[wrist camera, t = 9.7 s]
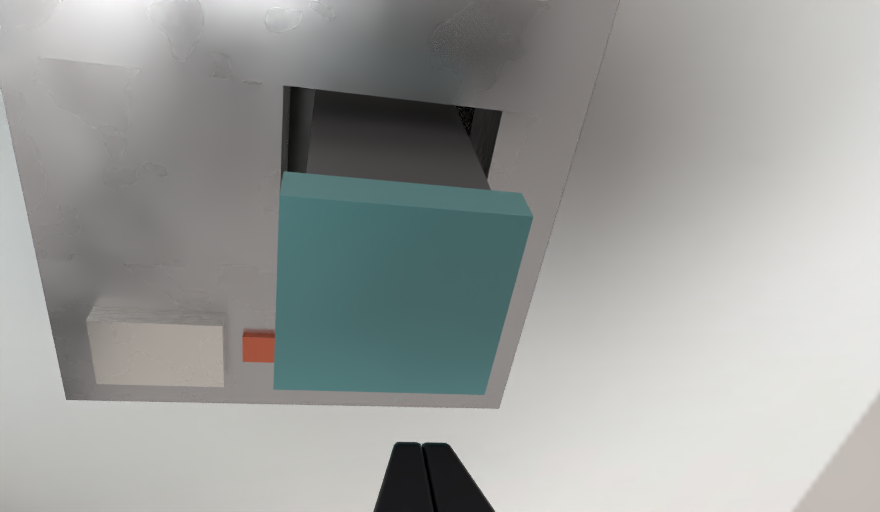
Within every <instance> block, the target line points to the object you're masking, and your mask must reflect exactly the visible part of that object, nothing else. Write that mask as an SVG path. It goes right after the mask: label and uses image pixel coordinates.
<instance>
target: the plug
mask: <svg viewBox="0 0 880 512" xmlns="http://www.w3.org/2000/svg"><path fill="white" fill-rule="evenodd" d="M532 221H533V215H532V213H531V211H530V209H529V207H528V205H527V203H526V201H525V199H524V197H523V195H522V193H516V192H505V191H494V190H491V188H490V186H489V184H488V181H487V179H486V177H485V174H484V172H483V170H482V167H481V165H480V163H479V160H478V158H477V155H476V153H475V151H474V148H473V146H472V144H471V141H470V139H469V137H468V134H467V132H466V130H465V127H464V125H463V122H462V120H461V118H460V115H459V113H458V111H457V108H456V106H455V105H448V104H440V103H431V102H422V101H414V100H405V99H397V98H388V97H379V96H371V95H362V94H354V93H345V92H336V91H328V90H319V89H316V91H315V100H314V109H313V117H312V126H311V135H310V143H309V152H308V161H307V169H306V173H296V172H285V171H284V172H283V178H282V183H281V189H280V194H279V220H278V252H277V285H276V318H275V351H274V384H273V390H309V391H348V392H387V393H427V394H466V395H485V392H486V388H487V384H488V381H489V377H490V373H491V370H492V366H493V362H494V359H495V355H496V352H497V348H498V344H499V341H500V337H501V333H502V330H503V326H504V322H505V319H506V315H507V312H508V308H509V304H510V301H511V297H512V293H513V290H514V286H515V282H516V279H517V275H518V271H519V268H520V264H521V261H522V257H523V253H524V250H525V246H526V242H527V239H528V235H529V231H530V228H531V224H532Z"/></svg>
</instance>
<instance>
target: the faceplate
mask: <svg viewBox="0 0 880 512" xmlns="http://www.w3.org/2000/svg"><path fill="white" fill-rule="evenodd" d="M619 1H620V0H0V85H1V90H2V95H3V100H4V105H5V109H6V114H7V119H8V124H9V128H10V133H11V138H12V143H13V148H14V152H15V157H16V162H17V167H18V171H19V176H20V181H21V186H22V191H23V195H24V200H25V205H26V210H27V214H28V219H29V224H30V229H31V234H32V238H33V243H34V248H35V253H36V257H37V262H38V267H39V272H40V276H41V281H42V286H43V291H44V296H45V300H46V305H47V310H48V315H49V319H50V324H51V329H52V334H53V339H54V343H55V348H56V353H57V358H58V362H59V367H60V372H61V377H62V382H63V386H64V391H65V396H66V400H100V401H149V402H199V403H248V404H297V405H347V406H396V407H446V408H495V409H499V407H500V403H501V400H502V397H503V393H504V390H505V386H506V383H507V380H508V376H509V373H510V370H511V366H512V363H513V359H514V356H515V353H516V349H517V346H518V342H519V339H520V336H521V332H522V329H523V326H524V322H525V319H526V315H527V312H528V309H529V305H530V302H531V299H532V295H533V292H534V288H535V285H536V282H537V278H538V275H539V272H540V268H541V265H542V261H543V258H544V255H545V251H546V248H547V245H548V241H549V238H550V234H551V231H552V228H553V224H554V221H555V217H556V214H557V211H558V207H559V204H560V201H561V197H562V194H563V190H564V187H565V184H566V180H567V177H568V174H569V170H570V167H571V163H572V160H573V157H574V153H575V150H576V147H577V143H578V140H579V136H580V133H581V130H582V126H583V123H584V119H585V116H586V113H587V109H588V106H589V103H590V99H591V96H592V92H593V89H594V86H595V82H596V79H597V76H598V72H599V69H600V65H601V62H602V59H603V55H604V52H605V49H606V45H607V42H608V38H609V35H610V32H611V28H612V25H613V22H614V18H615V15H616V11H617V8H618V5H619ZM291 86H293V87H302V88H311V89H319V90H328V91H336V92H345V93H354V94H362V95H371V96H379V97H388V98H397V99H405V100H414V101H422V102H431V103H440V104H448V105H457V106H465V107H474V108H475V110H474V115H473V120H472V125H471V131H470V136H469V139H470V141H471V144H472V146H473V148H474V151H475V153H476V155H477V158H478V160H479V163H480V165H481V167H482V170H483V172H484V174H485V177H486V179H487V181H488V184H489V186H490V188H491V190H494V191H505V192H516V193H522V195H523V197H524V199H525V201H526V203H527V205H528V207H529V209H530V211H531V213H532V215H533V221H532V224H531V228H530V231H529V235H528V239H527V242H526V246H525V250H524V253H523V257H522V261H521V264H520V268H519V271H518V275H517V279H516V282H515V286H514V290H513V293H512V297H511V301H510V304H509V308H508V312H507V315H506V319H505V322H504V326H503V330H502V333H501V337H500V341H499V344H498V348H497V352H496V355H495V359H494V362H493V366H492V370H491V373H490V377H489V381H488V384H487V388H486V392H485V395H466V394H427V393H387V392H348V391H309V390H273V384H274V351H275V318H276V285H277V252H278V220H279V194H280V189H281V183H282V178H283V172H284V171H285V172H287V168H288V141H289V114H290V88H291Z"/></svg>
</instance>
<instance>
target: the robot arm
mask: <svg viewBox="0 0 880 512" xmlns="http://www.w3.org/2000/svg"><path fill="white" fill-rule="evenodd" d="M374 512H495V511H494V509H493V508H492V506H491V505H490V503H489V502H488V500H487V499H486V497H485V496H484V494H483V493H482V492H481V490H480V489H479V487H478V486H477V484H476V483H475V481H474V480H473V478H472V477H471V475H470V474H469V472H468V471H467V470H466V468H465V467H464V465H463V464H462V462H461V461H460V459H459V458H458V456H457V455H456V453H455V452H454V451H453V449H452V448H451V446H450V445H448V444H447V443H424V444H422V446H421V444H419V443H417V442H397V443H395V445H394V447H393V450H392V453H391V456H390V460H389V463H388V466H387V469H386V473H385V476H384V479H383V482H382V486H381V489H380V492H379V495H378V499H377V502H376V505H375V508H374Z"/></svg>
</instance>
